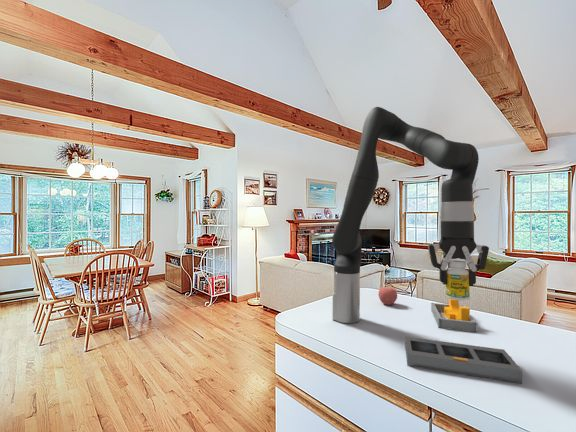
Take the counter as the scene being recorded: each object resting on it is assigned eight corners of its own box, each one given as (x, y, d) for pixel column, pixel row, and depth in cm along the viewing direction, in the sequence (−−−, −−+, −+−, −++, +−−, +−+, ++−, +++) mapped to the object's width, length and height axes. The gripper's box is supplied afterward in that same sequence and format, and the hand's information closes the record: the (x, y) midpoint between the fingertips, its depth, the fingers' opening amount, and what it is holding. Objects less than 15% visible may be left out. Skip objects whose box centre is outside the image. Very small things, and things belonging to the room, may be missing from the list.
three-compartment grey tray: (407, 365, 74) (407, 352, 74) (405, 346, 84) (405, 335, 84) (522, 384, 66) (522, 369, 66) (504, 361, 77) (504, 348, 77)
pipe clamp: (443, 314, 112) (444, 298, 112) (456, 315, 112) (456, 298, 112) (455, 326, 101) (455, 307, 101) (469, 327, 100) (469, 308, 100)
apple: (375, 302, 128) (375, 283, 128) (390, 301, 129) (390, 283, 129) (384, 307, 120) (384, 288, 120) (400, 306, 122) (400, 287, 122)
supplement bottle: (466, 295, 78) (465, 259, 78) (472, 301, 73) (472, 262, 73) (443, 294, 80) (443, 259, 80) (448, 300, 74) (448, 262, 74)
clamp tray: (438, 327, 99) (438, 318, 99) (431, 310, 117) (431, 302, 117) (476, 332, 96) (476, 322, 96) (462, 313, 114) (462, 305, 113)
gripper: (428, 219, 75) (429, 286, 75) (494, 219, 70) (495, 290, 70) (424, 219, 82) (425, 280, 82) (484, 219, 78) (484, 283, 77)
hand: (457, 284), depth 76 cm, fingers closed on supplement bottle, 5 cm apart
